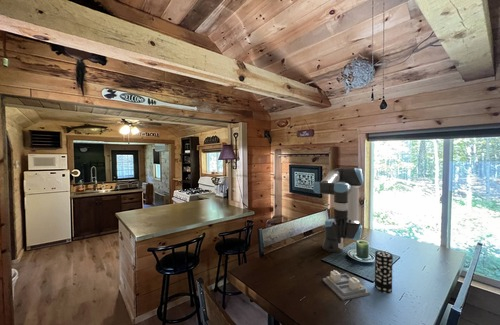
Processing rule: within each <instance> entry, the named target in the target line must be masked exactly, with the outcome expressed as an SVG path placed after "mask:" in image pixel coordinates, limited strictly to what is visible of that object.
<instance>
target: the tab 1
mask: <svg viewBox="0 0 500 325" xmlns="http://www.w3.org/2000/svg"><path fill="white" fill-rule="evenodd" d="M341 274H342V273H340V272H339V271H337V270H335V269H333V271H332V270H331V271H330V276H331V280H332V281H333V282H337V281H341Z"/></svg>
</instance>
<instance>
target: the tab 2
mask: <svg viewBox="0 0 500 325" xmlns="http://www.w3.org/2000/svg"><path fill="white" fill-rule="evenodd" d="M360 285H361V281H360V280H359V279H358V278H357V277H353V276H352V277H351V278H349V288H350V289H351V290H356V289H360Z"/></svg>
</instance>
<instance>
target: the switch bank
mask: <svg viewBox="0 0 500 325" xmlns="http://www.w3.org/2000/svg"><path fill="white" fill-rule="evenodd" d="M340 274H341V281H337V282H333V281H332V280H331V275H328V276H326V277H324V278H322V281H323V282H324V284H326V285H327V286H328V287H329V288H330V289H331V290H332V291H333V293H334V294H336V295H337V296H338V297H339V299H340V300H342V301H346V300H350V299H355V298H359V297H364V296H369V295H371V292H370V291H369V290H367V288H365V287H364V285H362V284H360V289H356V290H351V289H350V288H349V278H352V277H351V276H350V275H349V274H347V273H340Z"/></svg>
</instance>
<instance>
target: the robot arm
mask: <svg viewBox="0 0 500 325" xmlns="http://www.w3.org/2000/svg"><path fill="white" fill-rule="evenodd" d="M363 184H364V175H363V170H362V168H356V167H337V168H334V169H331V170H329V171H328V172H327V173H326V176H325V177H324V178H323V179H322V180H321V181H314V182H313V185H312V190H313V192H314V194H321V195H332V196H333V215H334V217H333V218H329V219H326V220H325V221H324V239H323V243H322V249H323V250H324V251H327V252H328V253H336V254H338V253H342V252H343V250H344V243H345V239H346V240H352V241H360V240H361V236H362V232H363V225H362V224H361V221H360V220H359V200H360V198H359V196H360V194H359V193H360V192H359V191H360V190H359V189H360V188H361V187H362V185H363Z"/></svg>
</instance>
